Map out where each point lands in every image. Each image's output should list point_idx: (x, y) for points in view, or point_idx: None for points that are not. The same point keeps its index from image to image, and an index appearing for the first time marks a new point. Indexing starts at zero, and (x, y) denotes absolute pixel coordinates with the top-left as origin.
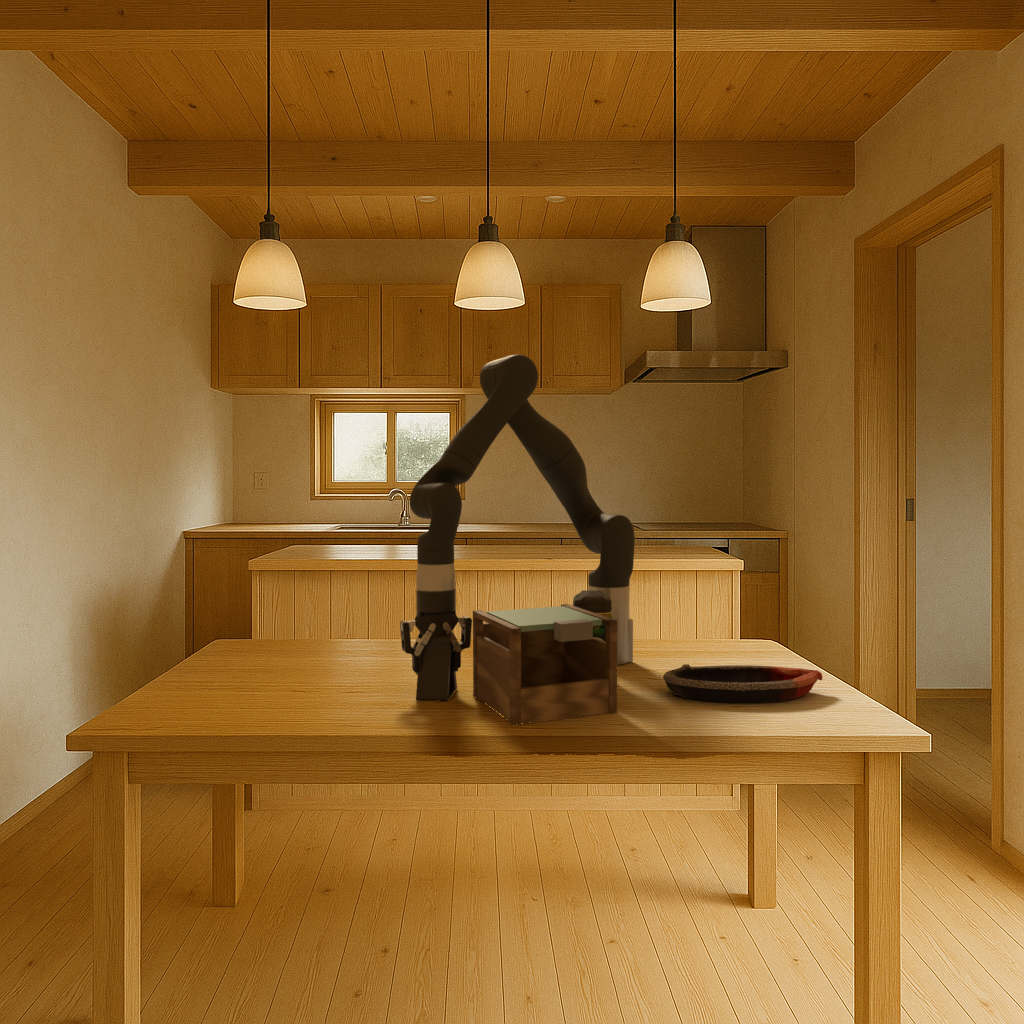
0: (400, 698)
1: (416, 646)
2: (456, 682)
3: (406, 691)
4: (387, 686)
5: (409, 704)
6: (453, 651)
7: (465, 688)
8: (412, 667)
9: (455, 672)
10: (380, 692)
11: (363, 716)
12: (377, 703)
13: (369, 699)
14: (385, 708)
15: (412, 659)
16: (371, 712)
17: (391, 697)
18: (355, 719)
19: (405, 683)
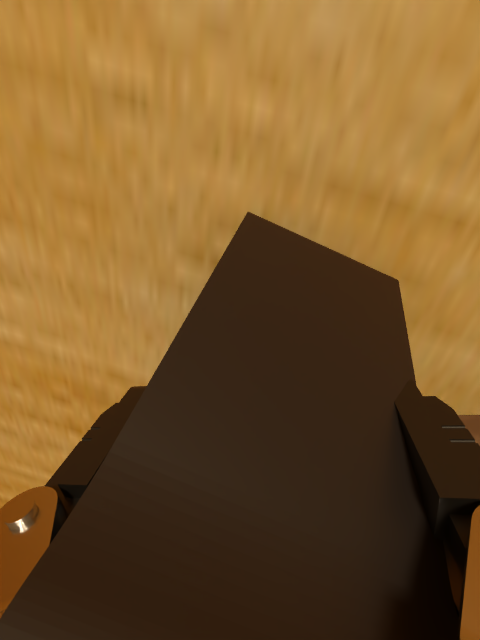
0: (119, 344)
1: (13, 579)
2: (399, 301)
3: (140, 243)
4: (35, 103)
5: None
6: (438, 555)
7: (445, 272)
8: (99, 424)
9: (407, 352)
10: (24, 226)
11: (32, 473)
12: (45, 377)
13: (5, 321)
14: (80, 432)
15: (65, 470)
16: (46, 452)
17: (83, 320)
18: (18, 486)
19: (131, 44)
